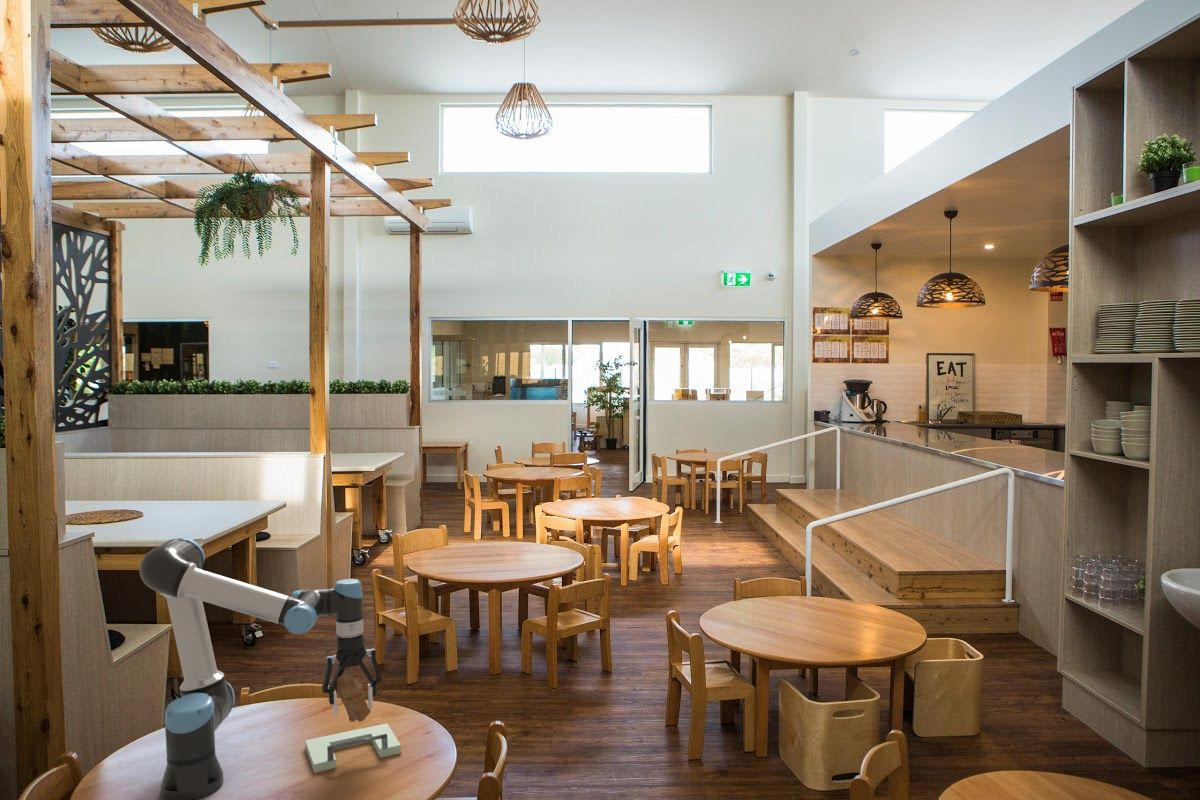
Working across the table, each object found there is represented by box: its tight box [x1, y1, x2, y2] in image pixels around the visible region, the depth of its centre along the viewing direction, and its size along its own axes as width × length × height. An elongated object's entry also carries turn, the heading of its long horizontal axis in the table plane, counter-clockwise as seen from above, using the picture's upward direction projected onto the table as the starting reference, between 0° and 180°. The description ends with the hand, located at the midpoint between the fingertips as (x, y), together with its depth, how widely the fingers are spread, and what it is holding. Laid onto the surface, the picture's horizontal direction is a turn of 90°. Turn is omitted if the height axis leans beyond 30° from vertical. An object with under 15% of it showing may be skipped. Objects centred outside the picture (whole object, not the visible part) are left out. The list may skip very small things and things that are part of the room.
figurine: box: [335, 674, 371, 723], centre depth 241 cm, size 8×8×15 cm
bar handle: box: [327, 734, 388, 761], centre depth 237 cm, size 16×1×4 cm, turn 117°
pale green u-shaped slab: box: [304, 722, 402, 774], centre depth 244 cm, size 24×17×2 cm
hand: (353, 710), depth 242 cm, fingers closed on figurine, 9 cm apart
